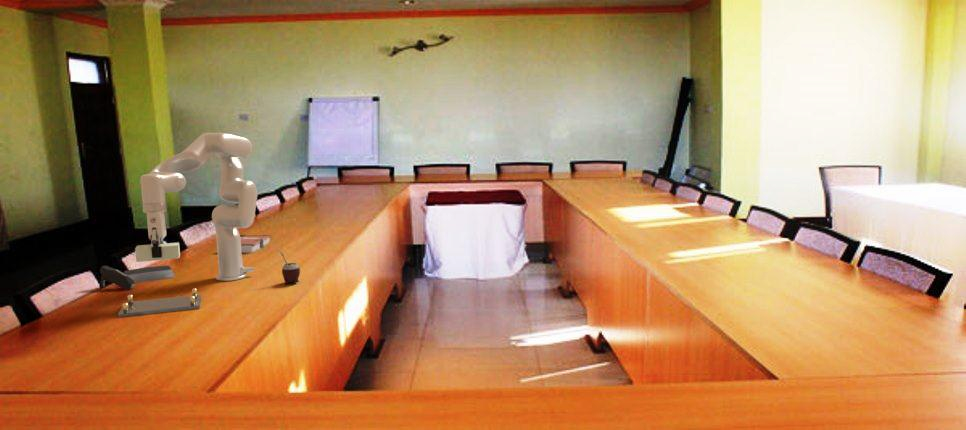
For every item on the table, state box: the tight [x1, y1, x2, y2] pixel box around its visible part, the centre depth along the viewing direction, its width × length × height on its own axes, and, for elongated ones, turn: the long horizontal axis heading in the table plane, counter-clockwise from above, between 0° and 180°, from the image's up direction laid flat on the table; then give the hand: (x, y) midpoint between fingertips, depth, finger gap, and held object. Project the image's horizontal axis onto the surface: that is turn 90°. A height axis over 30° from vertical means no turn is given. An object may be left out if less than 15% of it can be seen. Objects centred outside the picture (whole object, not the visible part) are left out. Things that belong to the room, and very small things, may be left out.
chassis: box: [117, 287, 203, 318], centre depth 232 cm, size 26×15×4 cm, turn 111°
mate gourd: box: [275, 248, 301, 286], centre depth 262 cm, size 8×8×15 cm
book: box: [240, 234, 271, 254], centre depth 333 cm, size 26×18×5 cm
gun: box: [99, 265, 136, 291], centre depth 258 cm, size 3×16×10 cm, turn 79°
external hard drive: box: [123, 265, 176, 284], centre depth 274 cm, size 13×19×4 cm
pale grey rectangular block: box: [134, 242, 181, 263], centre depth 235 cm, size 14×6×5 cm, turn 111°
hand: (158, 255), depth 235 cm, fingers closed on pale grey rectangular block, 6 cm apart
